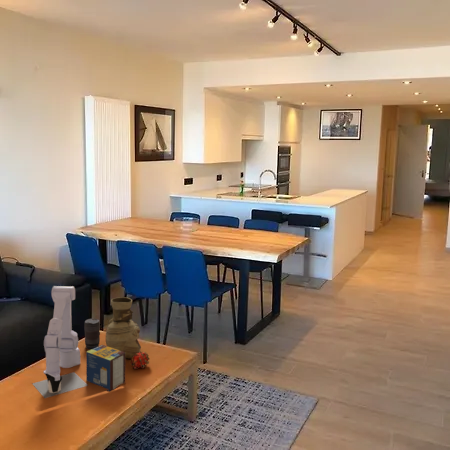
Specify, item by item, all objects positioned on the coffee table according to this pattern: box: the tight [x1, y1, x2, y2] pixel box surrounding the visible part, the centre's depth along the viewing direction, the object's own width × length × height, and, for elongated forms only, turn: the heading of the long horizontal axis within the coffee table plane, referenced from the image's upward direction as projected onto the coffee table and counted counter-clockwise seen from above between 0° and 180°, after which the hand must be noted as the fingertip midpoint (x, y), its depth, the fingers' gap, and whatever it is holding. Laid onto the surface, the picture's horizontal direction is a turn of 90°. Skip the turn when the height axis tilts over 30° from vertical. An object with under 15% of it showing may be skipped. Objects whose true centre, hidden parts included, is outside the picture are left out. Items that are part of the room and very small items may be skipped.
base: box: [31, 371, 89, 399], centre depth 226 cm, size 20×16×4 cm
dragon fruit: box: [130, 350, 150, 370], centre depth 248 cm, size 8×8×12 cm
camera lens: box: [83, 318, 101, 350], centre depth 269 cm, size 8×8×15 cm
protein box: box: [85, 344, 126, 392], centre depth 230 cm, size 10×15×16 cm
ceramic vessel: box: [105, 296, 142, 360], centre depth 262 cm, size 19×21×30 cm
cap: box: [48, 381, 61, 393], centre depth 220 cm, size 5×5×5 cm
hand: (53, 388), depth 220 cm, fingers closed on cap, 5 cm apart
